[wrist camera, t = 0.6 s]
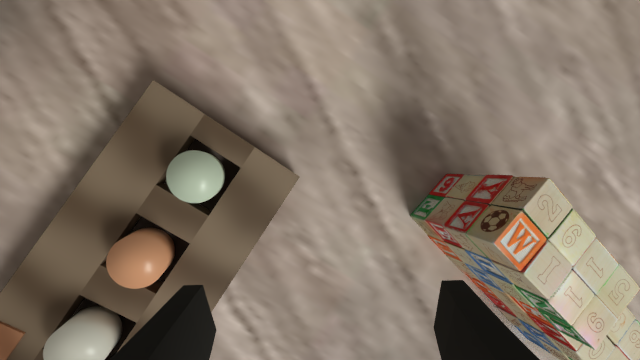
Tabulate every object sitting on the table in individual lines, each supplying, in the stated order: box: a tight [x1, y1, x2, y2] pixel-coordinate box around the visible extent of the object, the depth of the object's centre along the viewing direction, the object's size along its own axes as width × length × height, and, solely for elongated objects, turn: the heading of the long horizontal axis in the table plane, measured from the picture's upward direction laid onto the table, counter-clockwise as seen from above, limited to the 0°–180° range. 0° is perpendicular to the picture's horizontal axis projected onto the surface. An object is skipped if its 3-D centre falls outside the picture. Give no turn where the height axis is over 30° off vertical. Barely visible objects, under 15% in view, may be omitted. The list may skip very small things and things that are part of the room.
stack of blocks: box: [410, 174, 640, 360], centre depth 29 cm, size 21×6×12 cm, turn 45°
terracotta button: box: [106, 227, 175, 289], centre depth 25 cm, size 4×4×3 cm
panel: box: [0, 80, 299, 360], centre depth 27 cm, size 24×14×3 cm, turn 146°
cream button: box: [43, 306, 123, 360], centre depth 24 cm, size 4×4×3 cm
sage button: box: [166, 150, 225, 203], centre depth 26 cm, size 4×4×3 cm
